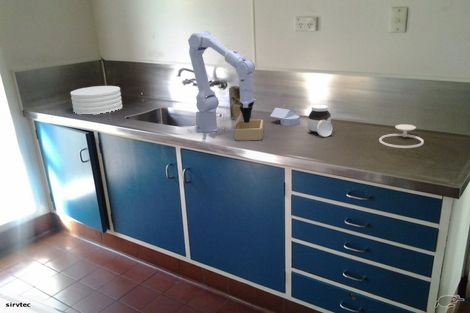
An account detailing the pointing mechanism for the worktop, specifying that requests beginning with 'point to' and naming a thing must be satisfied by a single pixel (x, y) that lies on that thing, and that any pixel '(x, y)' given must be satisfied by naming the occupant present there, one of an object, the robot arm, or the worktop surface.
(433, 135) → the worktop surface
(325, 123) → the spread jar
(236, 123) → the lid flap
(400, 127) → the hand towel holder
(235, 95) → the coffee box
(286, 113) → the wedge on round base
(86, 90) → the plate stack
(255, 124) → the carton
